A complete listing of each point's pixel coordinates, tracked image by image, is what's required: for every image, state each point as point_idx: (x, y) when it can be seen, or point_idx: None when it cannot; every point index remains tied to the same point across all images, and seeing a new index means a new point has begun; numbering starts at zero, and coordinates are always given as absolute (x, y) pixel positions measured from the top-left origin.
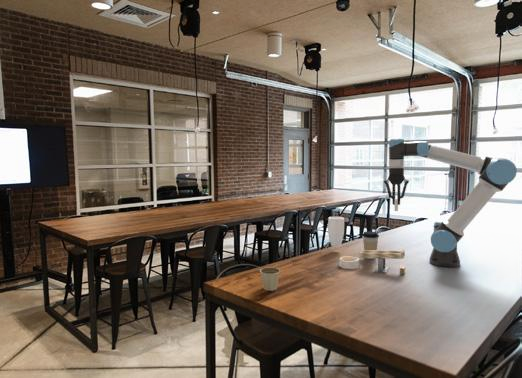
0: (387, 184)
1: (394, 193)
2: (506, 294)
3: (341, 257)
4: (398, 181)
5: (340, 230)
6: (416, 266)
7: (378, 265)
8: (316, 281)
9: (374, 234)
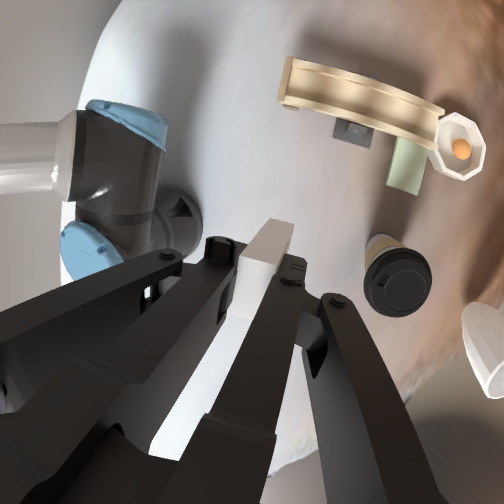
0: (404, 498)
1: (261, 311)
2: (108, 42)
3: (481, 162)
4: (14, 455)
5: (491, 327)
6: (244, 173)
7: None
8: (494, 28)
9: (390, 262)
